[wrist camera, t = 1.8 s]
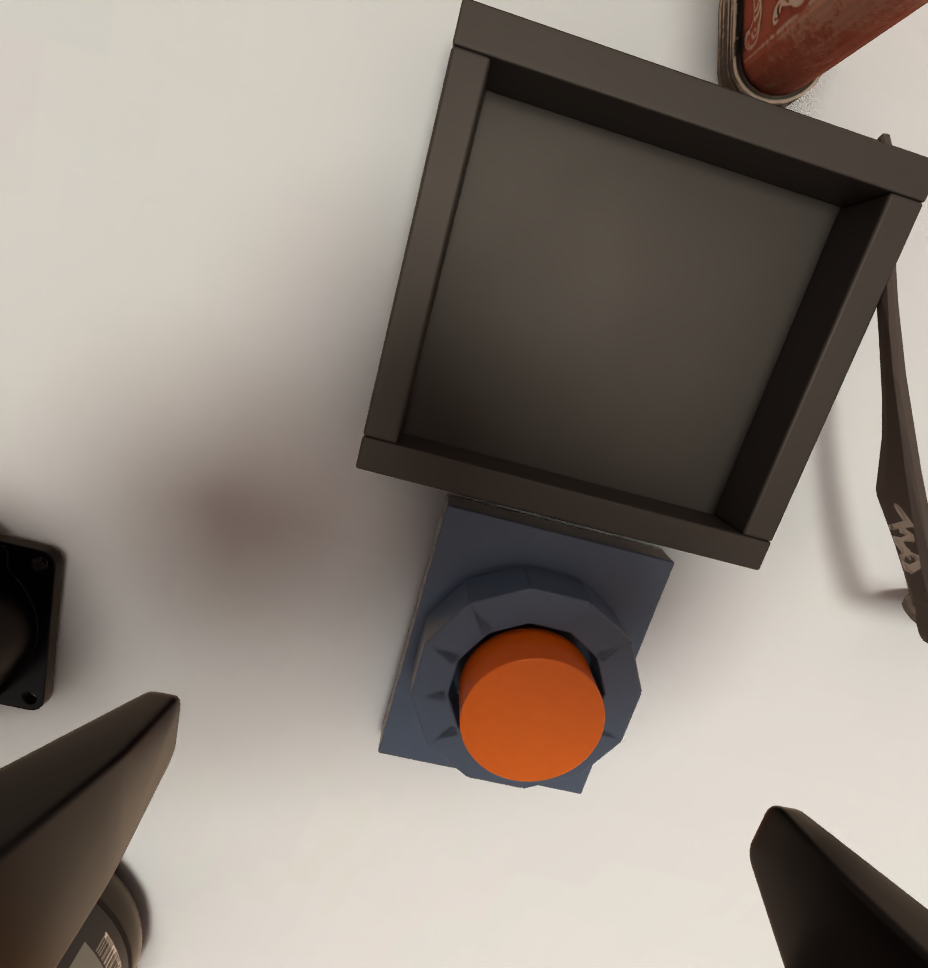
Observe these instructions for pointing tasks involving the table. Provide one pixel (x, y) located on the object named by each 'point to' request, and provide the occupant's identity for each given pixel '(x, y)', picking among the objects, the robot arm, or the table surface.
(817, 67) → the lighter
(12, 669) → the robot arm
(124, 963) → the supplement container
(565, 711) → the test button
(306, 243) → the table surface
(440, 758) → the box
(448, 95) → the holder
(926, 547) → the sunglasses
